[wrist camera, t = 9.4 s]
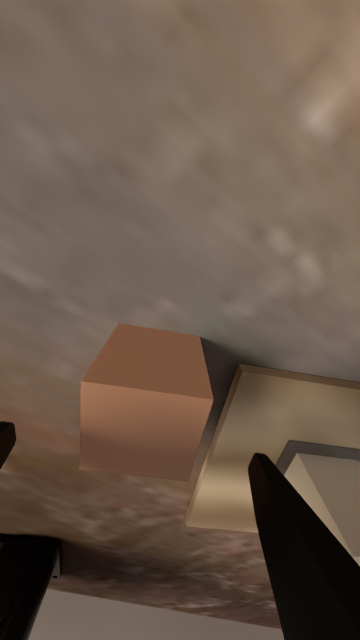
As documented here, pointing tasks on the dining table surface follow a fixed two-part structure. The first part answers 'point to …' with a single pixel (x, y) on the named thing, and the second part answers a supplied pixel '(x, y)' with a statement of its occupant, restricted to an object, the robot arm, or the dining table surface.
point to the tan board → (271, 437)
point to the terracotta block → (145, 404)
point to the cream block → (331, 494)
